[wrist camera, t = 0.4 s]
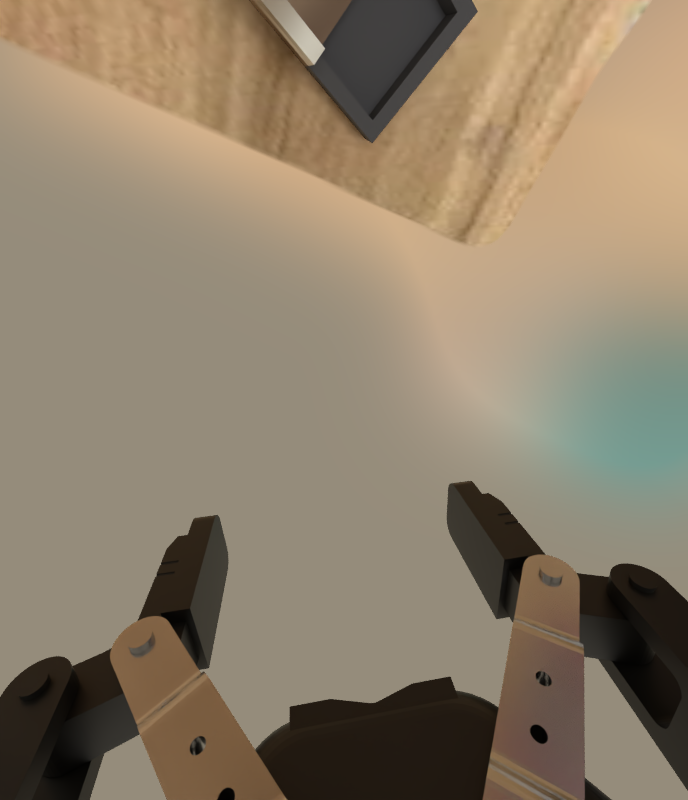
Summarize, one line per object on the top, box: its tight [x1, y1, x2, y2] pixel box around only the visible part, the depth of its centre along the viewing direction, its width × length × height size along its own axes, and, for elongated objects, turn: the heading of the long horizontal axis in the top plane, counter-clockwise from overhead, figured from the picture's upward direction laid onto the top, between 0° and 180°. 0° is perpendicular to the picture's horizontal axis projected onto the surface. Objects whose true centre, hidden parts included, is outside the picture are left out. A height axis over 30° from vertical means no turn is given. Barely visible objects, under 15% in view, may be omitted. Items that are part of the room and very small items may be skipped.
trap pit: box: [305, 0, 478, 143], centre depth 27 cm, size 6×10×2 cm, turn 137°
